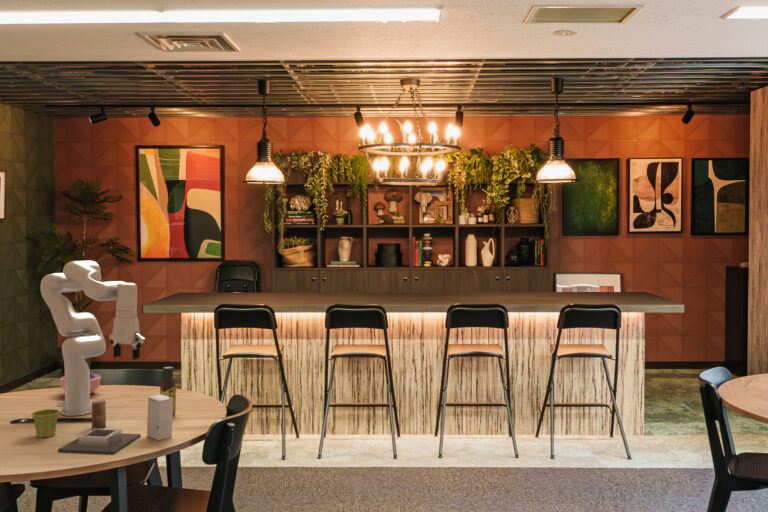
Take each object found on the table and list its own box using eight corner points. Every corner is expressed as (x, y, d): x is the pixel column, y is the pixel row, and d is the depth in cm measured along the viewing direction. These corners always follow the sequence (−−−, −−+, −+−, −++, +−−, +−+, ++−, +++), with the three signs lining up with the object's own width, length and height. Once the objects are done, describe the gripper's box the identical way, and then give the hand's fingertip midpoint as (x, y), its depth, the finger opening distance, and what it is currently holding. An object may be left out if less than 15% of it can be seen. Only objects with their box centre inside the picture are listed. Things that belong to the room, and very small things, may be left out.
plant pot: (41, 441, 245) (40, 417, 244) (26, 436, 250) (26, 413, 249) (65, 434, 253) (65, 411, 252) (50, 430, 258) (50, 407, 257)
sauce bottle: (170, 418, 276) (170, 369, 275) (156, 417, 277) (156, 368, 276) (178, 414, 282) (178, 366, 282) (165, 413, 284) (164, 365, 283)
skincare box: (146, 436, 251) (146, 396, 251) (161, 432, 256) (161, 393, 256) (159, 441, 246) (158, 400, 246) (173, 437, 251) (173, 397, 250)
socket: (58, 452, 233) (57, 440, 233) (88, 434, 253) (88, 424, 253) (113, 454, 231) (113, 442, 231) (140, 436, 251) (140, 426, 251)
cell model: (97, 388, 327) (97, 365, 326) (103, 397, 310) (103, 372, 309) (58, 392, 318) (58, 368, 318) (63, 401, 301) (62, 376, 301)
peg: (89, 429, 259) (89, 403, 259) (95, 425, 264) (95, 400, 264) (101, 429, 259) (101, 403, 259) (108, 426, 264) (108, 400, 264)
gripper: (102, 313, 266) (102, 357, 267) (136, 317, 259) (136, 361, 260) (117, 311, 273) (117, 354, 273) (150, 314, 266) (150, 358, 266)
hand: (126, 357), depth 266 cm, fingers open, 9 cm apart
